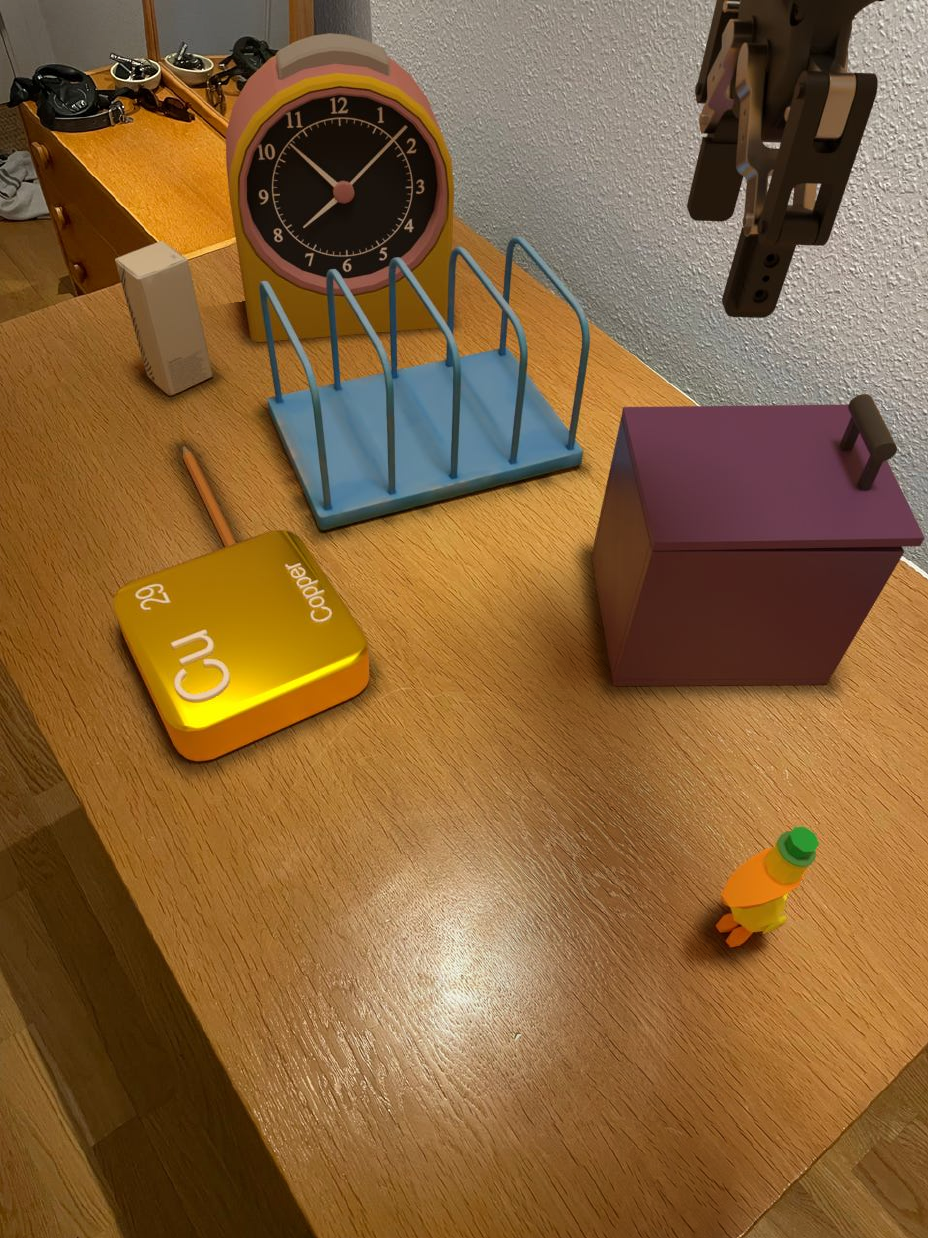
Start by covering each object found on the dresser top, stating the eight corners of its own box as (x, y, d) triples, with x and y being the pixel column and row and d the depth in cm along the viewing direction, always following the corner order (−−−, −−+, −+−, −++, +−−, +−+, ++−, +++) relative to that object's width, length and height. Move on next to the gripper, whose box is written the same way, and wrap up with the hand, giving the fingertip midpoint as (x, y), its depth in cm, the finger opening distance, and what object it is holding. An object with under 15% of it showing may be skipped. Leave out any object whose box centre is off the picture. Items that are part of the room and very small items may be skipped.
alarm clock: (251, 342, 97) (209, 64, 77) (245, 294, 103) (205, 22, 82) (450, 326, 101) (461, 56, 80) (435, 280, 106) (441, 16, 86)
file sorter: (506, 361, 97) (520, 218, 85) (582, 468, 87) (609, 323, 75) (268, 412, 90) (246, 263, 78) (320, 534, 80) (305, 385, 68)
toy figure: (707, 981, 58) (764, 901, 48) (672, 930, 60) (720, 844, 50) (791, 930, 60) (860, 845, 51) (754, 883, 62) (815, 792, 53)
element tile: (379, 687, 70) (378, 648, 67) (186, 773, 65) (173, 736, 61) (296, 557, 78) (290, 516, 75) (117, 625, 73) (102, 584, 69)
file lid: (856, 412, 69) (880, 354, 65) (920, 546, 61) (952, 488, 57) (621, 415, 69) (631, 357, 65) (652, 551, 60) (666, 493, 56)
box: (190, 358, 95) (164, 237, 85) (214, 378, 93) (191, 257, 83) (143, 378, 93) (112, 256, 83) (167, 399, 91) (138, 277, 81)
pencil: (259, 585, 76) (190, 444, 87) (251, 580, 75) (183, 438, 86) (250, 592, 76) (182, 451, 87) (242, 587, 75) (175, 445, 86)
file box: (782, 555, 81) (842, 418, 70) (827, 684, 72) (905, 552, 61) (590, 555, 80) (621, 416, 69) (613, 686, 71) (652, 551, 60)
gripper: (1047, -128, 27) (847, 353, 40) (891, -224, 36) (768, 192, 49) (792, -140, 27) (671, 349, 39) (699, -234, 36) (625, 187, 48)
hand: (725, 261), depth 44 cm, fingers open, 8 cm apart
